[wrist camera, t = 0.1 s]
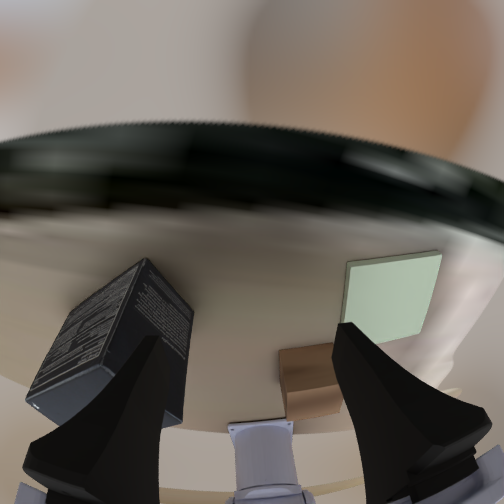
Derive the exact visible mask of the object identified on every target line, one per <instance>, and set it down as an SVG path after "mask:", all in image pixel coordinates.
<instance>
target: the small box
mask: <svg viewBox="0 0 504 504" xmlns="http://www.w3.org/2000/svg"><path fill="white" fill-rule="evenodd" d="M193 317H194V311H193V310H192V309H191V308H190V307H189V305H188V304H187V303H186V302H185V301H184V300H183V299H182V298H181V297H180V295H179V294H178V293H177V292H176V291H175V290H174V289H173V287H172V286H171V285H170V284H169V283H168V282H167V281H166V280H165V278H164V277H163V276H162V275H161V274H160V273H159V272H158V270H157V269H156V268H155V267H154V266H153V265H152V263H151V262H150V261H149V260H148V259H146V258H144V259H142V260H141V261H140V262H138V263H137V264H135V265H134V266H132V267H131V268H129V269H128V270H127V271H125V272H124V273H122V274H121V275H120V276H118V277H117V278H115V279H114V280H113V281H111V282H110V283H108V284H107V285H106V286H104V287H103V288H102V289H100V290H99V291H97V292H96V293H94V294H93V295H92V296H91V297H89V298H88V299H87V300H85V301H84V302H83V303H81V304H80V305H79V306H77V307H76V308H75V309H74V310H72V311H71V312H70V313H69V315H68V317H67V319H66V320H65V322H64V324H63V326H62V328H61V330H60V332H59V334H58V335H57V337H56V339H55V341H54V343H53V345H52V347H51V348H50V351H49V352H48V354H47V355H46V357H45V359H44V361H43V363H42V365H41V367H40V369H39V371H38V373H37V375H36V377H35V379H34V381H33V383H32V385H31V387H30V390H29V392H28V394H27V396H26V399H25V401H26V402H27V403H28V404H30V405H31V406H32V407H34V408H35V409H36V410H38V411H39V412H40V413H42V414H43V415H44V416H46V417H47V418H48V419H50V420H52V421H53V422H54V423H56V424H57V425H59V426H61V425H62V424H64V423H65V422H67V421H68V420H69V419H71V418H72V417H73V416H74V415H76V414H77V413H78V412H79V411H81V410H82V409H83V408H84V407H85V406H86V405H88V404H89V403H90V402H91V401H92V400H93V399H94V398H95V397H96V396H97V395H98V394H99V393H100V392H101V391H102V390H103V389H104V387H105V386H106V385H107V384H108V383H109V382H110V380H111V379H112V378H113V377H114V376H115V375H116V373H117V372H118V371H119V370H120V368H121V367H122V366H123V364H124V363H125V362H126V361H127V359H128V358H129V357H130V355H131V354H132V353H133V351H134V350H135V349H136V347H137V346H138V345H139V343H140V342H141V341H142V339H143V338H144V337H145V336H146V335H160V338H161V341H162V345H163V348H164V351H165V354H166V357H167V360H168V363H169V366H170V382H169V392H168V397H167V402H166V408H165V413H164V418H163V423H162V428H166V427H170V426H174V425H178V424H181V423H182V422H183V406H184V396H185V384H186V374H187V365H188V356H189V348H190V339H191V332H192V324H193Z"/></svg>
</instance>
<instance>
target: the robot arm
mask: <svg viewBox="0 0 504 504" xmlns="http://www.w3.org/2000/svg"><path fill="white" fill-rule="evenodd" d="M331 358H332V363H333V367H334V371H335V375H336V379H337V382H338V384H339V387H340V390H341V392H342V395H343V398H344V400H345V403H346V405H347V408H348V411H349V413H350V416H351V419H352V422H353V425H354V428H355V432H356V437H357V441H358V445H359V451H360V456H361V461H362V467H363V474H364V481H365V490H366V504H496V503H497V502H498V501H500V500H501V499H502V498H503V497H504V453H503V451H502V449H501V447H500V445H497V446H495V447H494V448H492V449H491V450H489V451H488V452H486V453H485V454H483V455H482V456H480V457H479V458H477V459H476V460H475V458H474V456H473V455H474V454H475V453H476V449H475V447H474V446H475V444H477V443H478V442H479V441H480V440H481V439H482V438H483V437H484V436H485V435H486V434H487V433H488V432H489V430H490V429H491V427H492V422H491V420H490V419H489V417H488V415H487V413H486V412H485V410H484V409H483V408H482V407H478V406H475V405H472V404H469V403H466V402H463V401H461V400H458V399H456V398H453V397H451V396H449V395H447V394H445V393H443V392H441V391H439V390H437V389H435V388H433V387H431V386H430V385H428V384H426V383H425V382H423V381H421V380H420V379H418V378H417V377H415V376H414V375H412V374H411V373H409V372H408V371H407V370H405V369H404V368H403V367H401V366H400V365H399V364H398V363H396V362H395V361H394V360H393V359H391V358H390V357H389V356H388V355H387V354H386V353H385V352H383V351H382V350H381V349H380V348H379V347H378V346H377V345H376V344H375V343H374V342H373V341H371V340H370V339H369V338H368V337H367V336H366V335H365V334H364V333H363V332H362V331H361V330H360V329H359V328H358V327H357V326H356V325H355V324H354V323H353V322H346V323H339V324H338V327H337V332H336V337H335V342H334V347H333V352H332V356H331ZM169 382H170V366H169V363H168V360H167V357H166V354H165V351H164V348H163V345H162V341H161V338H160V335H146V336H145V337H144V338H143V339H142V341H141V342H140V343H139V345H138V346H137V347H136V349H135V350H134V351H133V353H132V354H131V355H130V357H129V358H128V359H127V361H126V362H125V363H124V364H123V366H122V367H121V368H120V370H119V371H118V372H117V373H116V375H115V376H114V377H113V378H112V379H111V380H110V382H109V383H108V384H107V385H106V386H105V387H104V389H103V390H102V391H101V392H100V393H99V394H98V395H97V396H96V397H95V398H94V399H93V400H92V401H91V402H90V403H89V404H88V405H86V406H85V407H84V408H83V409H82V410H81V411H79V412H78V413H77V414H76V415H74V416H73V417H72V418H71V419H69V420H68V421H67V422H65V423H64V424H62V425H61V426H59V427H58V428H56V429H55V430H53V431H52V432H50V433H49V434H46V435H45V436H43V437H41V438H39V439H37V440H35V441H33V442H31V443H30V446H29V449H28V452H27V455H26V458H25V461H24V464H23V467H22V468H23V470H24V472H25V473H26V474H28V475H29V476H30V477H31V478H33V479H34V480H36V481H37V482H39V483H40V484H42V485H43V486H45V487H46V488H48V492H47V494H46V493H44V492H42V491H40V490H38V489H36V488H33V487H31V486H29V485H27V484H25V483H23V482H20V484H19V488H18V491H17V495H16V499H15V503H14V504H160V500H159V481H158V480H159V479H158V476H159V473H158V472H159V469H158V468H159V467H158V466H159V442H160V433H161V429H162V423H163V418H164V413H165V408H166V402H167V397H168V392H169ZM228 430H229V433H230V436H231V439H232V442H233V445H234V448H235V463H236V484H237V491H234V496H235V497H229V499H228V500H227V501H226V502H225V504H316V503H315V499H314V496H313V494H312V493H311V492H309V491H308V490H302V489H301V485H298V480H297V474H296V468H295V462H294V456H293V451H292V435H293V421H289V422H287V421H286V418H285V419H278V420H269V421H260V422H249V423H235V424H229V425H228Z"/></svg>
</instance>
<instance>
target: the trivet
mask: <svg viewBox="0 0 504 504" xmlns="http://www.w3.org/2000/svg"><path fill="white" fill-rule="evenodd" d="M441 258H442V254H441V253H440V252H439V251H430V252H423V253H415V254H408V255H400V256H392V257H384V258H377V259H368V260H360V261H352V262H347V270H346V280H345V290H344V298H343V307H342V315H341V322H340V323H346V322H353V323H354V324H355V325H356V326H357V327H358V328H359V329H360V330H361V331H362V332H363V333H364V334H365V335H366V336H367V337H368V338H369V339H370V340H371V341H373V342H374V343H375V344H378V343H382V342H387V341H391V340H395V339H399V338H403V337H407V336H411V335H415V334H418V333H420V331H421V328H422V325H423V322H424V319H425V316H426V313H427V310H428V306H429V303H430V300H431V296H432V293H433V290H434V286H435V282H436V278H437V275H438V271H439V267H440V262H441Z"/></svg>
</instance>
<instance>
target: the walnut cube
mask: <svg viewBox="0 0 504 504" xmlns="http://www.w3.org/2000/svg"><path fill="white" fill-rule="evenodd" d="M333 347H334V345H333V343H332V342H331V343H325V344H319V345H313V346H306V347H299V348H292V349H284V350H279V362H280V386H281V391H282V397H283V403H284V409H285V415H286V421H287V422H289V421H296V420H303V419H309V418H315V417H320V416H325V415H330V414H335V413H339V412H340V408H341V405H342V401H343V395H342V392H341V390H340V387H339V384H338V382H337V379H336V375H335V371H334V367H333V363H332V358H331V356H332V352H333Z"/></svg>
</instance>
